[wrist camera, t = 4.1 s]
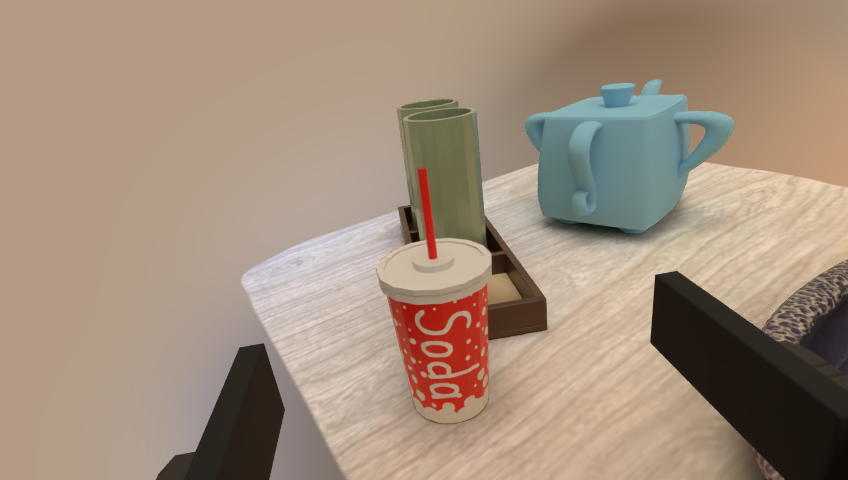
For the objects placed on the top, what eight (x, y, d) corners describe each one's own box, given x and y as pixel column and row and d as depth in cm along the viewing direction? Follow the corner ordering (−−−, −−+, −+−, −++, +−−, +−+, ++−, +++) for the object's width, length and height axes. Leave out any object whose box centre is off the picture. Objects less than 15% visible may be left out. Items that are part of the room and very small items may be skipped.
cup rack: (547, 329, 33) (546, 298, 32) (427, 351, 32) (422, 320, 31) (472, 215, 55) (470, 195, 54) (401, 226, 55) (398, 206, 54)
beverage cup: (384, 425, 26) (336, 189, 21) (419, 357, 32) (388, 155, 26) (491, 442, 24) (468, 186, 19) (510, 367, 30) (496, 149, 24)
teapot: (737, 235, 42) (760, 80, 37) (554, 253, 43) (552, 105, 38) (652, 180, 59) (660, 68, 54) (521, 194, 60) (517, 85, 55)
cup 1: (406, 244, 50) (386, 110, 44) (428, 223, 55) (412, 101, 49) (459, 247, 47) (444, 106, 42) (476, 224, 52) (465, 96, 47)
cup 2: (414, 277, 42) (390, 123, 37) (437, 249, 47) (420, 110, 42) (476, 283, 40) (461, 118, 35) (495, 253, 45) (484, 105, 40)
